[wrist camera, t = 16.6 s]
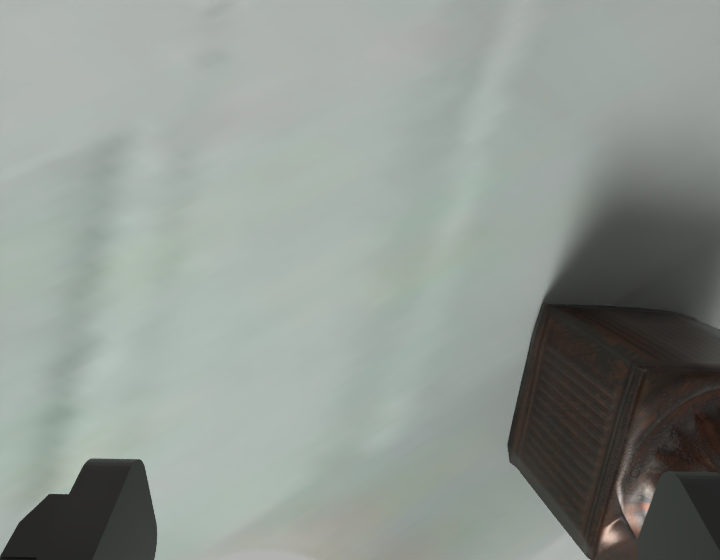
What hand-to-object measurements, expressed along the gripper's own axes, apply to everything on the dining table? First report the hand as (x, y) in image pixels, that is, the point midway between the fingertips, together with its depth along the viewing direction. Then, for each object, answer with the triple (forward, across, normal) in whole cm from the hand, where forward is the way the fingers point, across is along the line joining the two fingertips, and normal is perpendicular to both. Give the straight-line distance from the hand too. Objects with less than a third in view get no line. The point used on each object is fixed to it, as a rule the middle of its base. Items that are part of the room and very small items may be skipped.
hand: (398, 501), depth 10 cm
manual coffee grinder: (+24, -16, +18) cm, 34 cm away
